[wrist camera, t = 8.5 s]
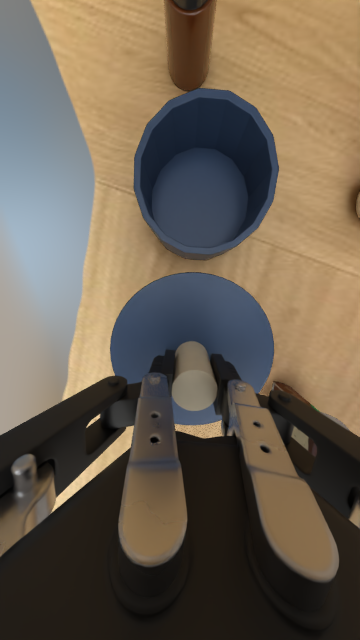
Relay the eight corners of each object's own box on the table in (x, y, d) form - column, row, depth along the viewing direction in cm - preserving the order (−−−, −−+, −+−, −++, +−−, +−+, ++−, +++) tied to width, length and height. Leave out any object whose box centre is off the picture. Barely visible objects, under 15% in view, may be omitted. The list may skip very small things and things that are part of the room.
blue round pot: (150, 140, 21) (135, 82, 15) (259, 149, 21) (292, 95, 15) (145, 255, 24) (132, 248, 18) (242, 263, 24) (263, 259, 18)
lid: (115, 265, 14) (72, 258, 9) (282, 280, 14) (344, 282, 9) (114, 410, 17) (82, 472, 12) (253, 422, 17) (286, 490, 12)
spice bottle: (170, 37, 19) (161, -110, 12) (211, 41, 19) (228, -105, 12) (167, 89, 20) (157, -18, 13) (206, 92, 20) (219, -13, 13)
